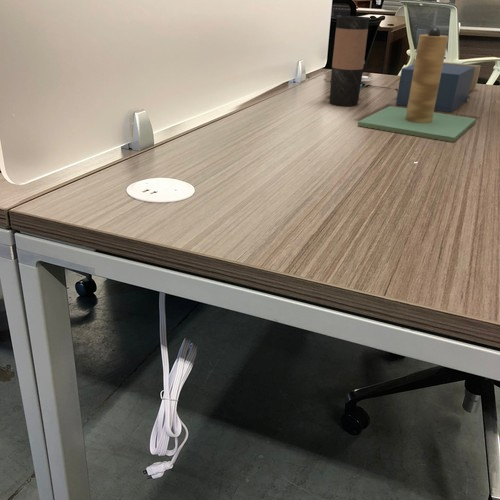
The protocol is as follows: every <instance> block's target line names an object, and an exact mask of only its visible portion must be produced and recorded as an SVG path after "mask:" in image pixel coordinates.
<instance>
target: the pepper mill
mask: <svg viewBox="0 0 500 500" xmlns="http://www.w3.org/2000/svg"><path fill="white" fill-rule="evenodd" d="M448 42H449V35H443V34H442V33H441V30H440V29H439V28H438V27H432V28H430V29H429V30H428V33H427V34H426V33H425V34H419V36H418V42H417V48H416V53H415V60H414V64H415V65H414V64H413V65H414V71H413V77H412V83H411V88H410V94H409V100H408V106H406V109H407V112H406V118H405V119H406V120H408V121H411V122H416V123H430V122H432V119H433V114H434V113H435V110H434V108H435V103H436V98H437V93H438V88H439V83H440V78H441V73H442V67H443V62H445V56H446V51H447V47H448Z"/></svg>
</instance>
